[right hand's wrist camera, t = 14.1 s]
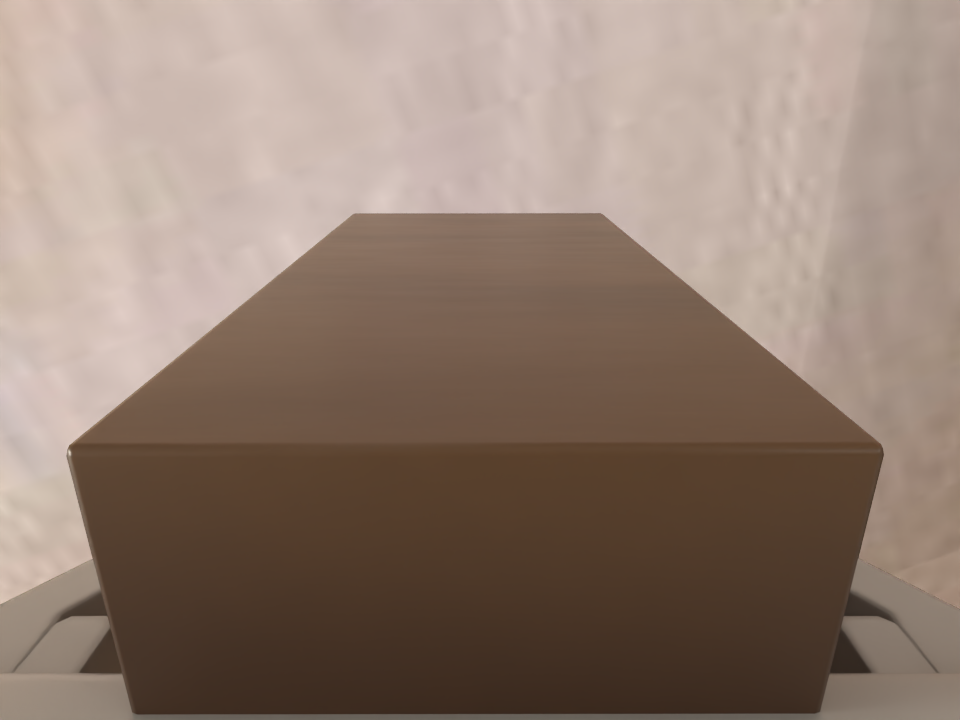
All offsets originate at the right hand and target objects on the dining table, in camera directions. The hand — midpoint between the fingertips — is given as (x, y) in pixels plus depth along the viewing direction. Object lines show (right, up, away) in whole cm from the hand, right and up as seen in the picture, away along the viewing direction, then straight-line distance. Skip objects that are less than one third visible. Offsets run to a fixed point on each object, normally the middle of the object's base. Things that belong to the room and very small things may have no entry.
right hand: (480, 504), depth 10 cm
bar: (0, -7, +7) cm, 10 cm away
